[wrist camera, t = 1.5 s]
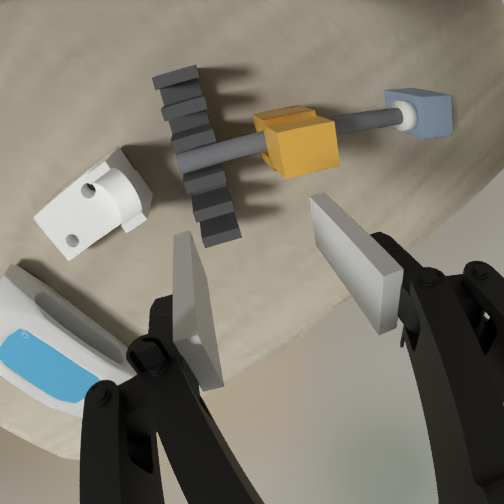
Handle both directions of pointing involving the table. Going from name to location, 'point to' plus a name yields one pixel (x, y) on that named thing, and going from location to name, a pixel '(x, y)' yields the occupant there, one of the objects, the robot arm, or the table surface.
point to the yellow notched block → (297, 141)
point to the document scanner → (54, 345)
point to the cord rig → (212, 154)
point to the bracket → (96, 205)
